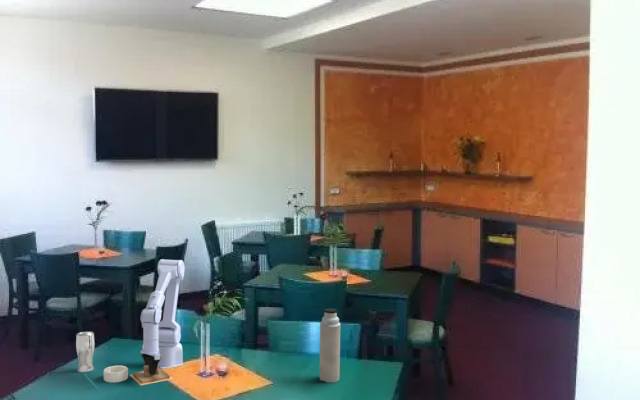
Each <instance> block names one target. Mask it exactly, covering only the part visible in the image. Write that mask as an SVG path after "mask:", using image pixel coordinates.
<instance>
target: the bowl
mask: <svg viewBox="0 0 640 400" xmlns="http://www.w3.org/2000/svg"><path fill="white" fill-rule="evenodd" d="M128 378H129V368H128V367H127V366H126V365H113V366H108V367H106V368H104V369H103V381H105V382H107V383H120V382H124V381H126V380H127V379H128Z"/></svg>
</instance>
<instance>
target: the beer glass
mask: <svg viewBox="0 0 640 400" xmlns="http://www.w3.org/2000/svg"><path fill="white" fill-rule="evenodd" d="M75 339H76V341H75V348H76V353H77V358H78V366H77V372H79V373H82V374H83V373H85V372H90V371H93V370H94V369H95V368H94V363H93V359H94V352H95V333H94V332H93V331H81V332H78V333H76V338H75Z"/></svg>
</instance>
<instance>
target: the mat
mask: <svg viewBox="0 0 640 400" xmlns="http://www.w3.org/2000/svg"><path fill="white" fill-rule="evenodd" d="M129 377H131V378H132V379H133V380H134V381H135V382H137V384H138V385H139V386H144V385H145V386H146V385H150V384H154V383H159V382H165V381H170V380H173V379H174V378H173V377H172V376H170V379H165V380H160V381H155V382H150V383H145V384H142V383H141V382H140V381H138V380H137V379H136V378H135V377H134V376H133V374H129Z"/></svg>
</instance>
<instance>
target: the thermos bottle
mask: <svg viewBox="0 0 640 400" xmlns="http://www.w3.org/2000/svg"><path fill="white" fill-rule="evenodd" d="M323 311H324V312H323V313H324V314H323V316H322V318H321V322H320V325H319V329H320V332H319V377H318V378H320V379H319V381H321V380H322V381H321V382H323V381H325V383H336V382H339V380H340V376H341V375H340V369H341V368H340V367H341V365H340V363H341V322H340V318H339V317H338V316H337V315H338V314H337V312H338V310H337V309H336V308H325V309H324V310H323Z"/></svg>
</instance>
